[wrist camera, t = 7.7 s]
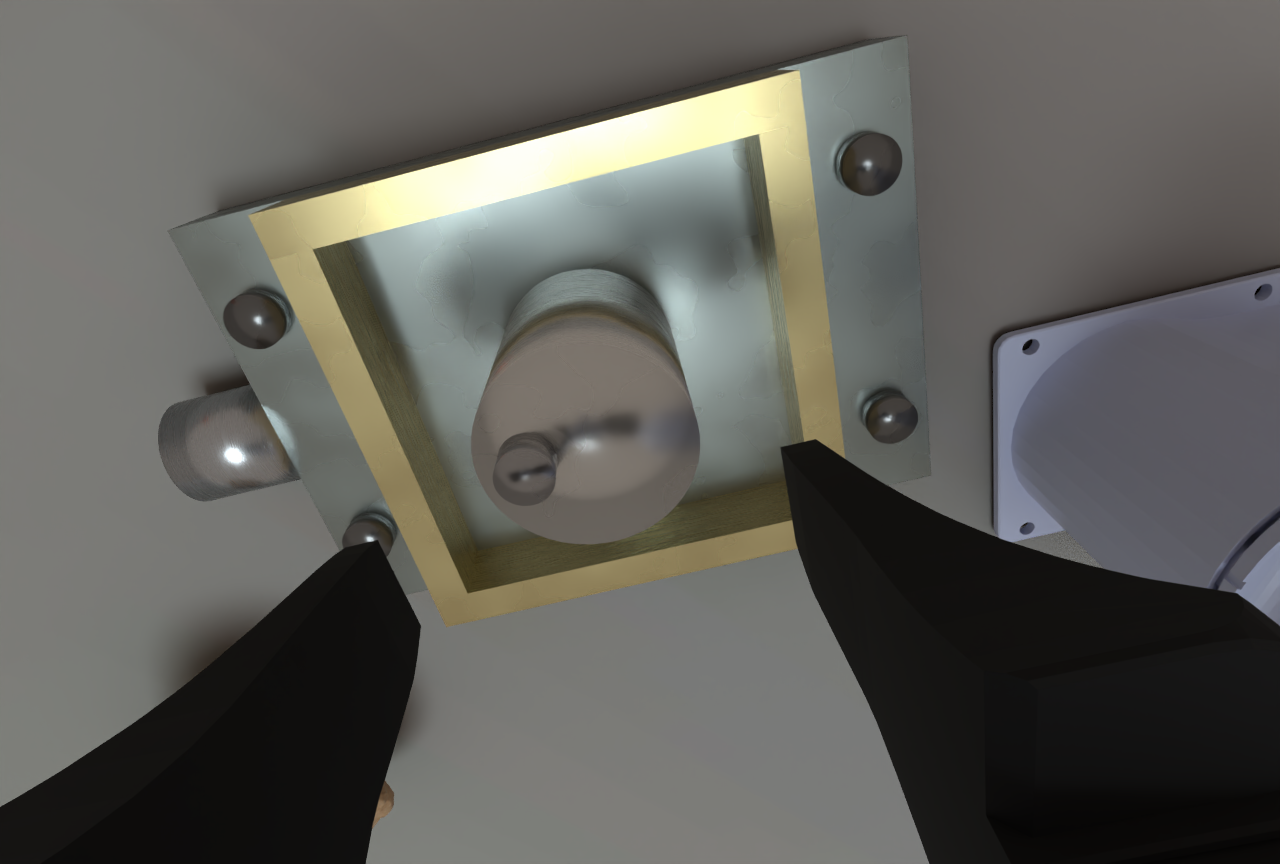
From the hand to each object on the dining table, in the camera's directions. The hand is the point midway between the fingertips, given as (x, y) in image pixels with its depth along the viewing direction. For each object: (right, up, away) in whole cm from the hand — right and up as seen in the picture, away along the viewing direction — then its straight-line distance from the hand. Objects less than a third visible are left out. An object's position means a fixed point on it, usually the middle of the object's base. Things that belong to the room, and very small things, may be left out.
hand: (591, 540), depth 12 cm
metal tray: (-2, +4, +9) cm, 10 cm away
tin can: (-1, +4, +7) cm, 8 cm away
